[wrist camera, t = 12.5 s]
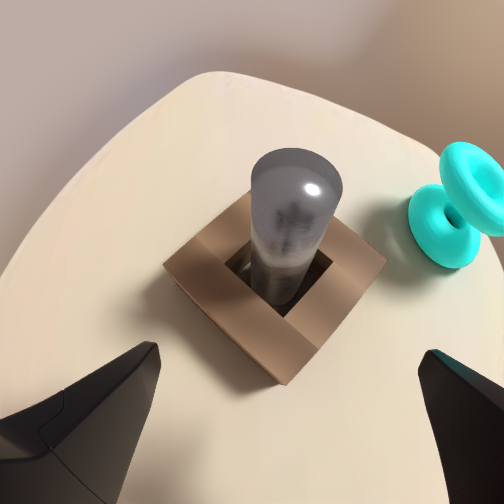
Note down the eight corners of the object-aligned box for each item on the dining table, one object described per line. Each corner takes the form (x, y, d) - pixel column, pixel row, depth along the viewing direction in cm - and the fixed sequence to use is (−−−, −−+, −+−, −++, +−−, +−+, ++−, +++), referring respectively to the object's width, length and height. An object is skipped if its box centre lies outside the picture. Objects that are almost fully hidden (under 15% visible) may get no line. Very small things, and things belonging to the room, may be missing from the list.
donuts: (535, 222, 15) (487, 230, 14) (480, 265, 24) (423, 280, 23) (489, 141, 19) (429, 130, 19) (449, 193, 28) (390, 196, 28)
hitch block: (279, 384, 20) (286, 385, 16) (175, 282, 23) (162, 264, 20) (368, 278, 23) (387, 260, 20) (270, 198, 27) (273, 171, 23)
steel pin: (261, 312, 22) (273, 230, 11) (243, 269, 24) (238, 159, 12) (305, 295, 23) (359, 202, 11) (286, 254, 24) (315, 141, 13)
